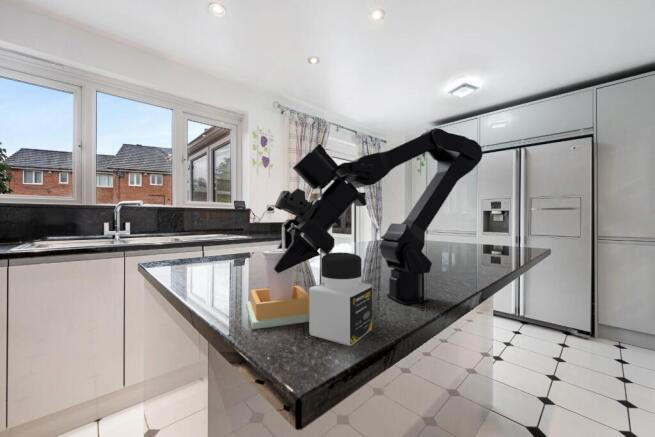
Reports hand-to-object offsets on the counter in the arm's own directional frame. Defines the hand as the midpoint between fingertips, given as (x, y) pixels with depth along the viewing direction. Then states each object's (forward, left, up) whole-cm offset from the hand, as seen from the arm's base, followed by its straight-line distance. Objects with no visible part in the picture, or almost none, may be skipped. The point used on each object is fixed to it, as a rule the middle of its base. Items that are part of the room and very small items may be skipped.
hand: (273, 267), depth 51 cm
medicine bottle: (-8, +12, -8) cm, 17 cm away
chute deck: (-6, 0, -8) cm, 10 cm away
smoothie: (-1, 0, -7) cm, 7 cm away
